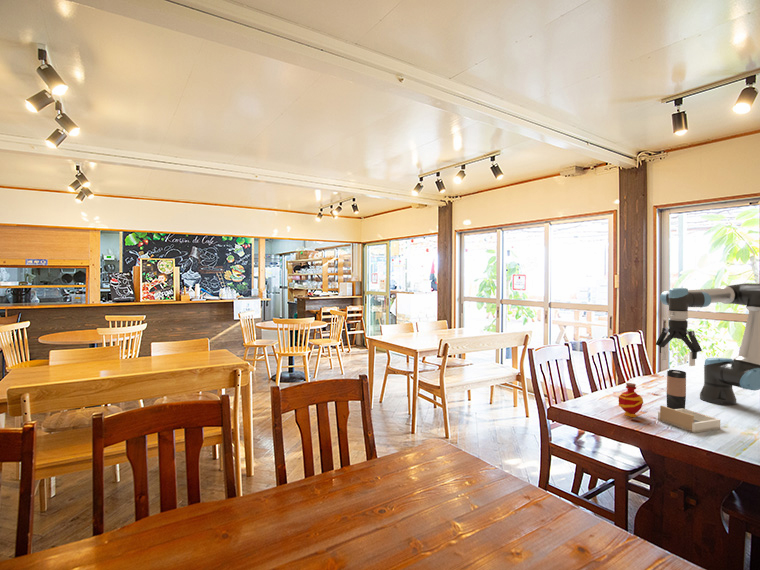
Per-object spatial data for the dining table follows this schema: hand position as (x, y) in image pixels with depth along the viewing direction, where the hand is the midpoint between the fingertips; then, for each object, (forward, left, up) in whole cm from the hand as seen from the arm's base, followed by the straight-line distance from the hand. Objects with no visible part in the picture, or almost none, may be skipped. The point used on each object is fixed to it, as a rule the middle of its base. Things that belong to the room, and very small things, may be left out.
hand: (677, 362), depth 196 cm
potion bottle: (+26, -3, -25) cm, 36 cm away
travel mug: (0, 0, -25) cm, 25 cm away
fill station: (+12, +14, -24) cm, 30 cm away
